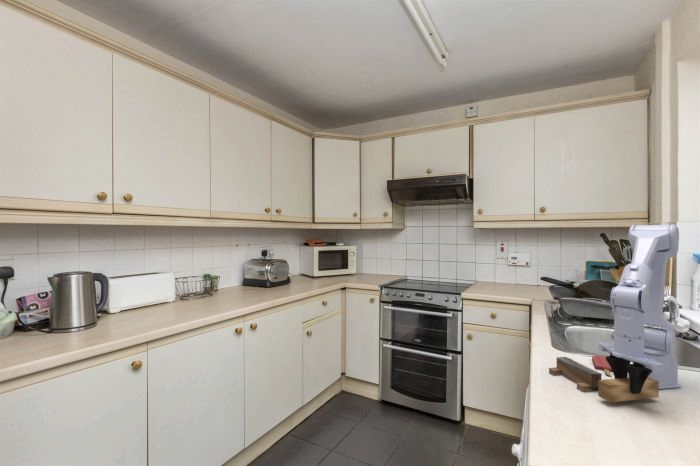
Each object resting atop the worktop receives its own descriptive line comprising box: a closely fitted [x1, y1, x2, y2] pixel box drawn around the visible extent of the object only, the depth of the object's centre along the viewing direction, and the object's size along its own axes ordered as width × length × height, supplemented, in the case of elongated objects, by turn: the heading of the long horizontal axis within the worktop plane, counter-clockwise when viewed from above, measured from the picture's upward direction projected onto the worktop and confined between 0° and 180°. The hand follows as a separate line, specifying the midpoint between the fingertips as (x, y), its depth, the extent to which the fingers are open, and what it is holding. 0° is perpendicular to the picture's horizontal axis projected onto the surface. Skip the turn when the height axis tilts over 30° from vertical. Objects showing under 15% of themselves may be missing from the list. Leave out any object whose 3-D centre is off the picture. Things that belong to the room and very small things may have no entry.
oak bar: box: [597, 377, 660, 403], centre depth 83 cm, size 14×3×4 cm, turn 99°
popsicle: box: [591, 355, 613, 377], centre depth 104 cm, size 5×2×15 cm
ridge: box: [548, 356, 602, 393], centre depth 94 cm, size 8×12×4 cm, turn 9°
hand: (628, 389), depth 83 cm, fingers closed on oak bar, 3 cm apart
